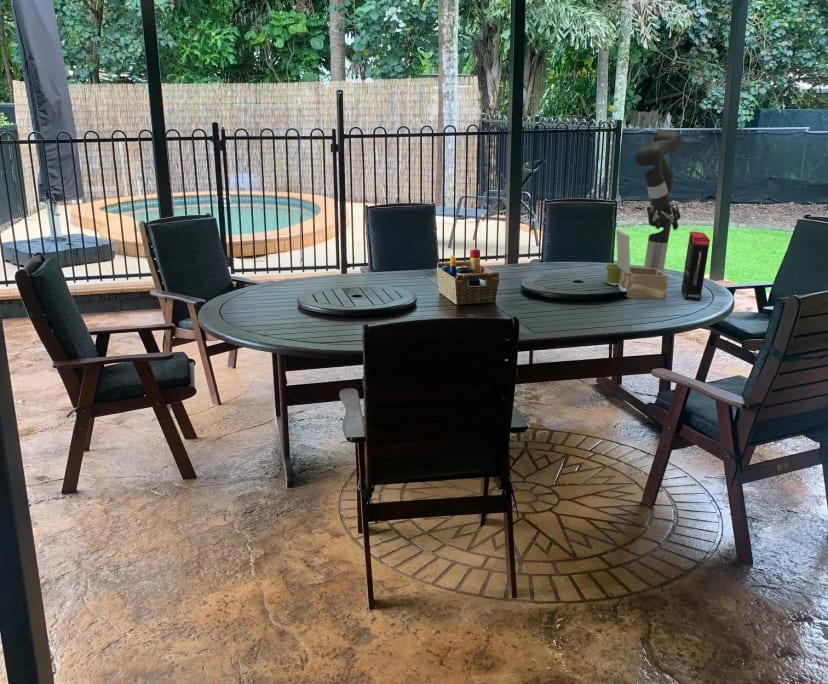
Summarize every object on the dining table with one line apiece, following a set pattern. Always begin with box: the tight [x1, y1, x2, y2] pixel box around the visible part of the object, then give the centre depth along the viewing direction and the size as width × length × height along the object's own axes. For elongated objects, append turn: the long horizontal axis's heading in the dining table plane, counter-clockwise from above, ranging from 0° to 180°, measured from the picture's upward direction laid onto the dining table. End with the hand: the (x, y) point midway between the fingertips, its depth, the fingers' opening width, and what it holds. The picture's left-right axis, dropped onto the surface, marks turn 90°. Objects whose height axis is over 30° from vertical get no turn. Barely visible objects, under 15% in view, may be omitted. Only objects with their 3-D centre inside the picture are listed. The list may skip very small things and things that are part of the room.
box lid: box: [615, 229, 631, 276], centre depth 332 cm, size 16×17×1 cm
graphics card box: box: [681, 230, 711, 301], centre depth 335 cm, size 17×7×27 cm, turn 168°
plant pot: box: [605, 263, 621, 283], centre depth 350 cm, size 9×9×9 cm
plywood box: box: [619, 266, 669, 300], centre depth 336 cm, size 16×16×10 cm
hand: (667, 228), depth 324 cm, fingers open, 8 cm apart
